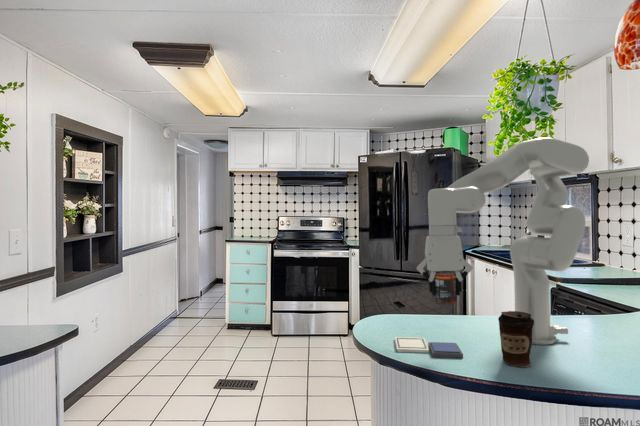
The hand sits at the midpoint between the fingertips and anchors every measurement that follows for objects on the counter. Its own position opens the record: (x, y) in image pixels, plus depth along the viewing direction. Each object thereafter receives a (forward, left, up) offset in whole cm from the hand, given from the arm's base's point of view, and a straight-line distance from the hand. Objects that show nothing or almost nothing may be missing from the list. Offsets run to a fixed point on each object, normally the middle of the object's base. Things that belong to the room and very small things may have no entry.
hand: (445, 293), depth 104 cm
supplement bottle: (0, 0, -3) cm, 3 cm away
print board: (+9, -4, -17) cm, 19 cm away
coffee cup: (-17, +6, -17) cm, 24 cm away
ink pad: (0, 0, -17) cm, 17 cm away
